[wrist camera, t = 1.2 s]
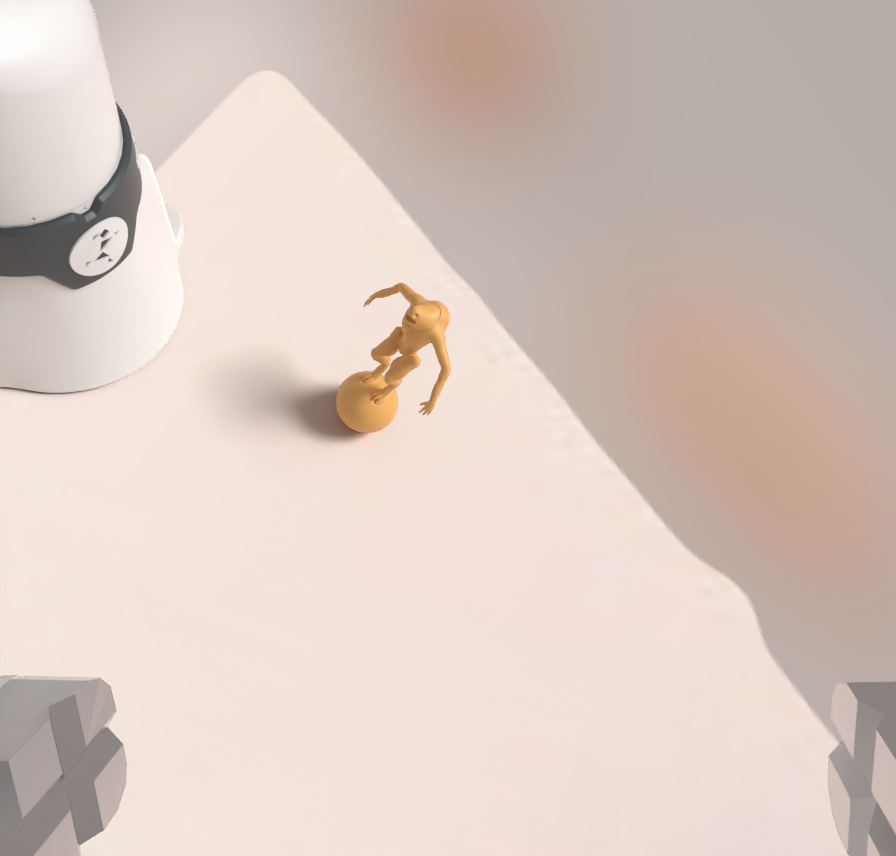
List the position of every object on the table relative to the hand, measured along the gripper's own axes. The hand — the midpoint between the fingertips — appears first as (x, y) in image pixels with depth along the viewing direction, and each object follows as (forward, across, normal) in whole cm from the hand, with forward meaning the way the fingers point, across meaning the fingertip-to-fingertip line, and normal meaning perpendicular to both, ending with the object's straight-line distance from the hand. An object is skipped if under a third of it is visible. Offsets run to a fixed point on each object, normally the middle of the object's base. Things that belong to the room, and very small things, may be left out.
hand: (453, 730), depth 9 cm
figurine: (+44, +11, +6) cm, 45 cm away
